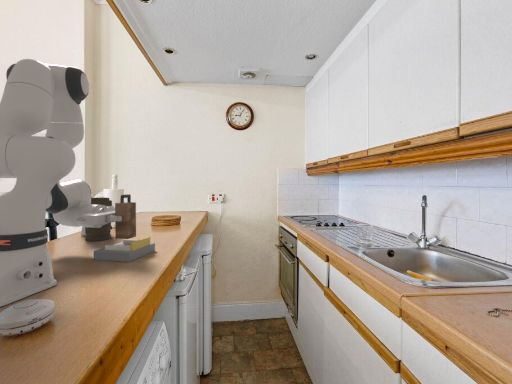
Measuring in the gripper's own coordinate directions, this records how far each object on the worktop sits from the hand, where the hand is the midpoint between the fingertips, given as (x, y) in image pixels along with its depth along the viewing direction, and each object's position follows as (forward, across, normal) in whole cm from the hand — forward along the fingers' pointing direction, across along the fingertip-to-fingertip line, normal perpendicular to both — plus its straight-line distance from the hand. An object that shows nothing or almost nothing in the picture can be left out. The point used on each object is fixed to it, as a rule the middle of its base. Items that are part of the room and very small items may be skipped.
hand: (128, 217), depth 105 cm
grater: (-44, +35, +15) cm, 58 cm away
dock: (-1, 0, +14) cm, 14 cm away
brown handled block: (-1, 0, +8) cm, 8 cm away
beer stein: (-32, +25, +15) cm, 43 cm away
